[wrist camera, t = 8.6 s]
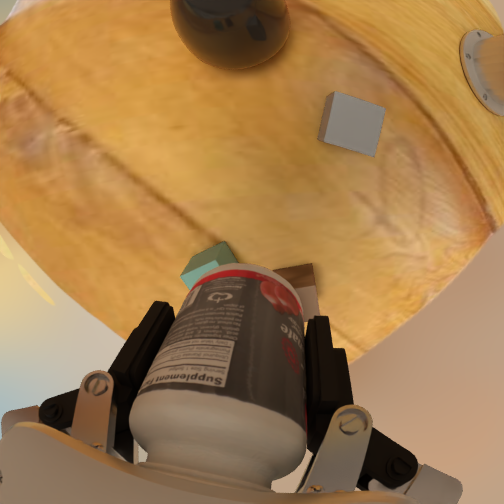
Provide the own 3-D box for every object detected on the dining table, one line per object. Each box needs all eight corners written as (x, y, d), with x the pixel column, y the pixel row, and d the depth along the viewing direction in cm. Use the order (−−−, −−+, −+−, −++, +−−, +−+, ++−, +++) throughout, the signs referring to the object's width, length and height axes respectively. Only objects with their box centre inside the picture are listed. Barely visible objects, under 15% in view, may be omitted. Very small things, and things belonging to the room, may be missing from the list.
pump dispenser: (307, 54, 22) (328, -6, 9) (219, 91, 25) (158, 64, 12) (265, -11, 19) (249, -90, 5) (183, 25, 22) (112, -26, 8)
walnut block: (312, 263, 33) (315, 285, 29) (316, 295, 35) (320, 319, 31) (272, 269, 34) (270, 292, 30) (280, 301, 36) (279, 325, 32)
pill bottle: (318, 331, 13) (326, 536, 4) (225, 357, 14) (182, 525, 6) (273, 239, 11) (233, 532, 2) (168, 282, 12) (61, 472, 4)
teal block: (224, 240, 33) (215, 259, 29) (244, 272, 35) (238, 295, 30) (192, 256, 35) (179, 276, 30) (213, 286, 36) (203, 308, 32)
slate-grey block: (369, 110, 24) (385, 108, 20) (360, 152, 27) (374, 157, 22) (326, 96, 24) (335, 91, 20) (317, 139, 27) (323, 141, 22)
